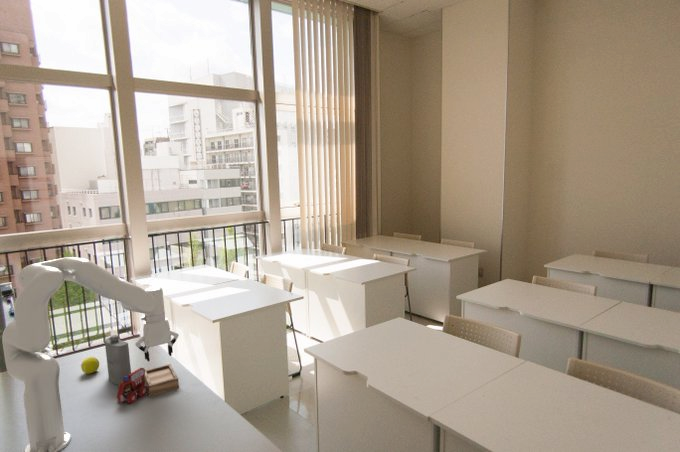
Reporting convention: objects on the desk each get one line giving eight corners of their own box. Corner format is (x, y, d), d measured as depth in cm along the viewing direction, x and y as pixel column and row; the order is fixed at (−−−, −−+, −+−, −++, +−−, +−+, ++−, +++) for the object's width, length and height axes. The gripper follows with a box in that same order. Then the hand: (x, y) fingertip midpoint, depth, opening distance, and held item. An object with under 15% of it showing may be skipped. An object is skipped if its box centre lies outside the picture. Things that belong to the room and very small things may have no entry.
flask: (105, 378, 184) (100, 334, 182) (118, 372, 189) (114, 330, 186) (119, 388, 175) (115, 342, 172) (134, 382, 179) (129, 337, 177)
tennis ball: (80, 372, 190) (78, 358, 189) (97, 367, 195) (96, 353, 194) (84, 377, 185) (82, 362, 184) (101, 372, 190) (100, 357, 189)
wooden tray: (179, 388, 173) (178, 378, 173) (150, 396, 167) (149, 386, 167) (171, 373, 187) (170, 363, 186) (144, 380, 181) (143, 370, 180)
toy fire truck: (112, 404, 163) (110, 379, 161) (139, 389, 174) (136, 365, 173) (125, 407, 160) (122, 382, 159) (151, 392, 171) (149, 367, 170)
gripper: (133, 324, 166) (137, 366, 168) (179, 315, 175) (182, 355, 177) (130, 319, 172) (135, 359, 174) (175, 310, 181) (179, 349, 183)
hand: (159, 357), depth 176 cm, fingers open, 8 cm apart
